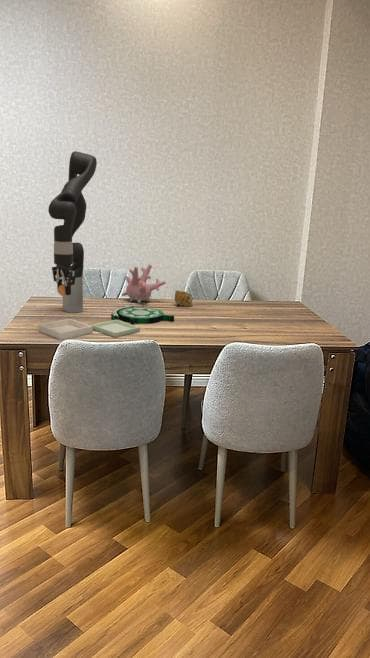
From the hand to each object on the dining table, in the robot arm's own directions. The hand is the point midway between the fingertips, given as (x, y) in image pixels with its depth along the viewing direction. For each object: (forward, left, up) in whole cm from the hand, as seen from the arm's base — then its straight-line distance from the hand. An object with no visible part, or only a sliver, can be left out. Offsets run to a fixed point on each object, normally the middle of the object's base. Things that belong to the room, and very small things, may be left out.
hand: (64, 293), depth 202 cm
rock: (-3, +78, -17) cm, 80 cm away
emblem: (+4, +41, -17) cm, 45 cm away
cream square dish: (0, 0, -17) cm, 17 cm away
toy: (-23, +64, -17) cm, 70 cm away
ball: (0, 0, +1) cm, 1 cm away
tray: (+11, +18, -17) cm, 27 cm away
